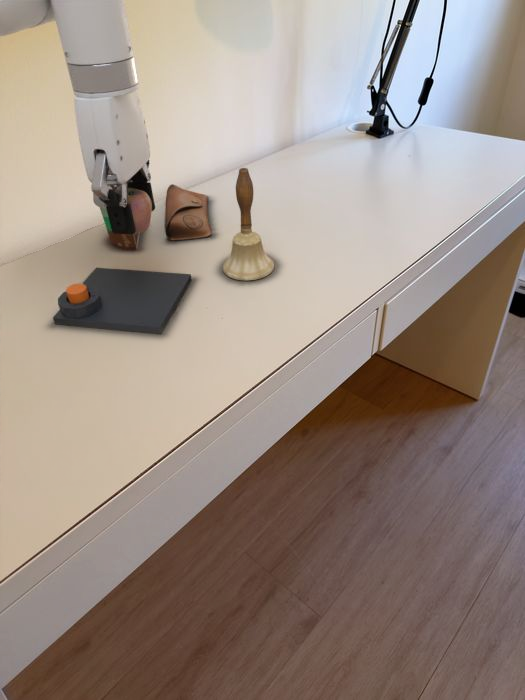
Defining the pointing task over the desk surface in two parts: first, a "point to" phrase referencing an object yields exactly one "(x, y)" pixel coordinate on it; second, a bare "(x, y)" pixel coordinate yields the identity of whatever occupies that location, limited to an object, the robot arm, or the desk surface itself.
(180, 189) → the sunglasses case
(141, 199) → the apple
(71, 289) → the button
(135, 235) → the food container
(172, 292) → the scale
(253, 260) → the hand bell
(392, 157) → the desk surface
